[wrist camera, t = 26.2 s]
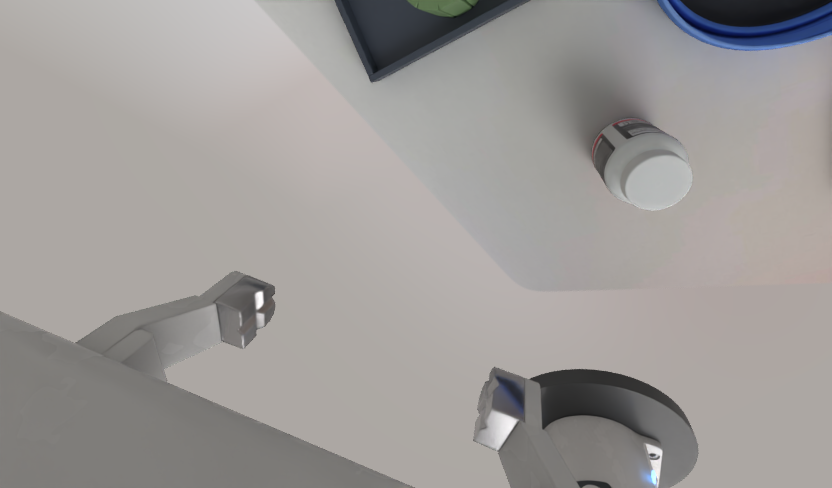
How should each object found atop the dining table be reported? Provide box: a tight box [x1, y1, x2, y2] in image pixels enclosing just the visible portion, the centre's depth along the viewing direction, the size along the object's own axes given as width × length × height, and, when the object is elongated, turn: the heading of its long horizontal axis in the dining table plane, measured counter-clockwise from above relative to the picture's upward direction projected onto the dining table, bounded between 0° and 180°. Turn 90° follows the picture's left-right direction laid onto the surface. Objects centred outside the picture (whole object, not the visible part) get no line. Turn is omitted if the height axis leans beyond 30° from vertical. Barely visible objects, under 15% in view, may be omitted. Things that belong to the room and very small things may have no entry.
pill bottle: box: [592, 118, 693, 210], centre depth 27 cm, size 5×5×10 cm
